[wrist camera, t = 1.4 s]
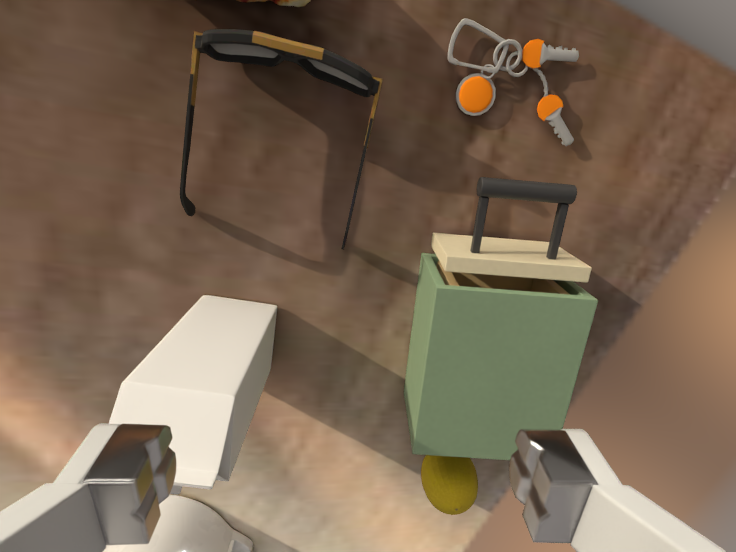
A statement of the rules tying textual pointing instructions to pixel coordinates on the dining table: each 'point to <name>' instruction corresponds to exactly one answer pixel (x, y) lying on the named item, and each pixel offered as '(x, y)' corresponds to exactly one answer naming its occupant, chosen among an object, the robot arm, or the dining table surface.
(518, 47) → the key chain
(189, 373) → the milk carton
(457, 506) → the lemon
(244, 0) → the croissant
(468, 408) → the cabinet
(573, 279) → the drawer
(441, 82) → the dining table surface
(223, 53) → the sunglasses
